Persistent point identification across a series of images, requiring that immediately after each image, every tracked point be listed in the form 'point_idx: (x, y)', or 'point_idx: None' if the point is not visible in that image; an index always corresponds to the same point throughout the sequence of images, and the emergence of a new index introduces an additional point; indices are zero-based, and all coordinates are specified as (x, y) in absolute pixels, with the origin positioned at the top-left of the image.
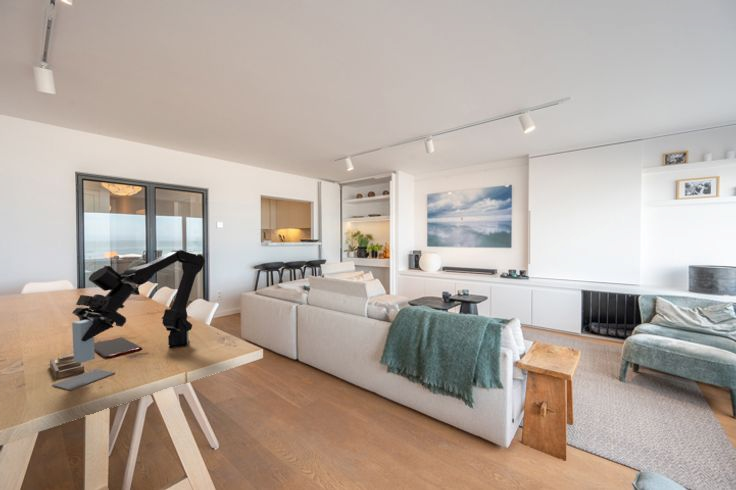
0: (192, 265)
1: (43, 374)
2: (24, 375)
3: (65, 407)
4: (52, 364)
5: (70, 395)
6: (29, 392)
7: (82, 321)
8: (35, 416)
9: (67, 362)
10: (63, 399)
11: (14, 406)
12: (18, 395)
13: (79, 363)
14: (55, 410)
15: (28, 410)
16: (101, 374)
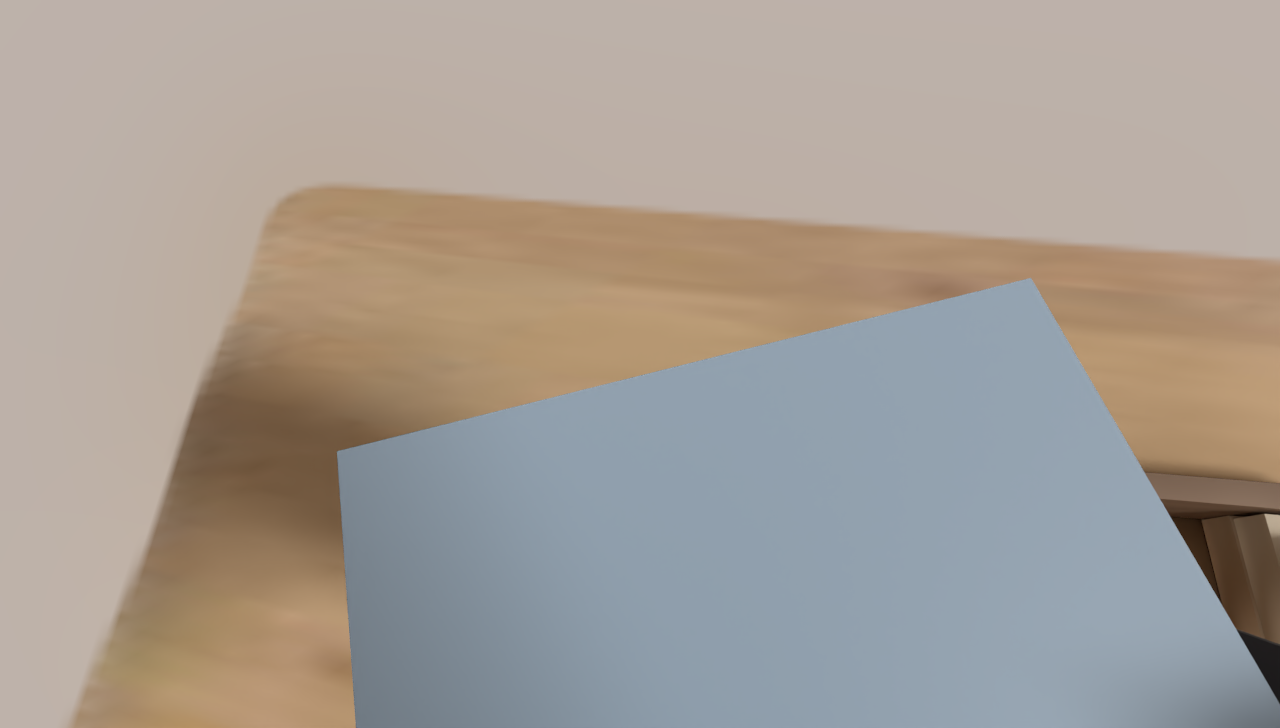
0: None
1: (1121, 431)
2: (1203, 338)
3: (224, 399)
4: (1206, 478)
5: None
6: (738, 308)
7: (834, 693)
8: (274, 275)
9: (1270, 615)
10: (378, 419)
11: (552, 229)
12: (738, 262)
13: None
14: (242, 354)
15: (407, 265)
16: None
